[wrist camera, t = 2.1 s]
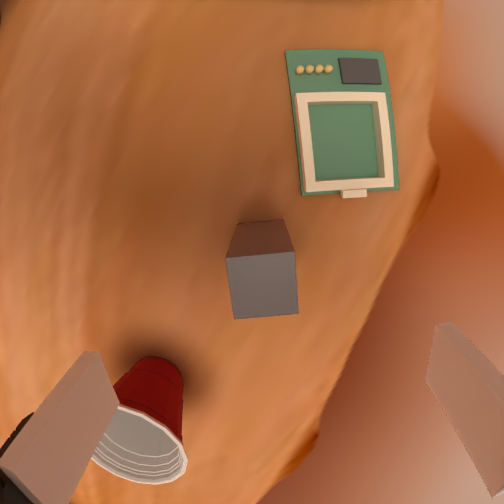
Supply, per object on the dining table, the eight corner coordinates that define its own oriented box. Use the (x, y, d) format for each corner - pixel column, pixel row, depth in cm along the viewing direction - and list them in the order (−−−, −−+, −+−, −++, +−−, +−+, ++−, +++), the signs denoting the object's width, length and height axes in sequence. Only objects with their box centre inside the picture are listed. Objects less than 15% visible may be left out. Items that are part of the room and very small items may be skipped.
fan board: (284, 52, 24) (287, 40, 21) (380, 53, 23) (392, 43, 20) (301, 196, 27) (306, 201, 24) (396, 190, 27) (410, 194, 24)
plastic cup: (221, 362, 32) (205, 449, 21) (186, 420, 35) (167, 496, 24) (128, 317, 31) (76, 388, 20) (107, 382, 34) (67, 450, 22)
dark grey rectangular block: (237, 224, 28) (225, 258, 19) (283, 219, 28) (294, 251, 18) (243, 275, 29) (235, 330, 20) (287, 271, 29) (299, 324, 20)
